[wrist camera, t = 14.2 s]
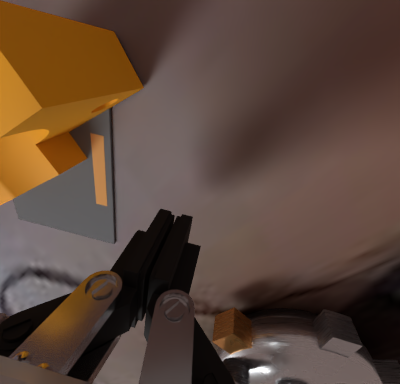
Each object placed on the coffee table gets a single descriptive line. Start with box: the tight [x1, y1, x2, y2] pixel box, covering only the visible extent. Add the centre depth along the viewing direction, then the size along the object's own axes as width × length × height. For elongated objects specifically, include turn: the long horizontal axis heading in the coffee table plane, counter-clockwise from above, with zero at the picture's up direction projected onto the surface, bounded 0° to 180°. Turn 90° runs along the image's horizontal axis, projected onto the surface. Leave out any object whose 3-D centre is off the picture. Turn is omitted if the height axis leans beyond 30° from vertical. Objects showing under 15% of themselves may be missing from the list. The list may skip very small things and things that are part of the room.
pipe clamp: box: [0, 0, 144, 205], centre depth 10 cm, size 12×4×6 cm, turn 116°
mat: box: [13, 108, 115, 244], centre depth 14 cm, size 12×8×1 cm, turn 170°
